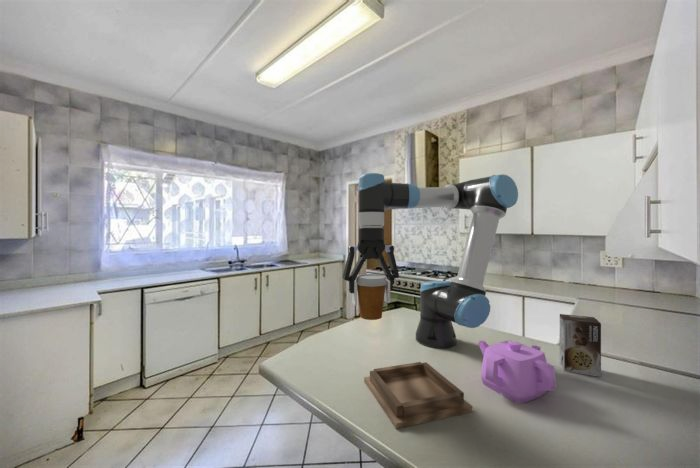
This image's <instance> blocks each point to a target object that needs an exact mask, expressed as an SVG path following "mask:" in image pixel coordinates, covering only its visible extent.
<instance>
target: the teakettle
mask: <svg viewBox="0 0 700 468" xmlns="http://www.w3.org/2000/svg"><path fill="white" fill-rule="evenodd" d="M477 344H478V346H479V349H480V350H481V353H482V356H483V359H482V363H481V372H480V373H481V374H480V378H481V381H482V384H483V385H484V386H486V387H487V388H489V389H490V390H493V391H494V392H495V393H498V394H499V395H501V396H502V397H504V398H507V399H509V400H510V401H513V402H514V403H517V404H523V403H527V402H531V401H533V400H536V399H539V398H540V397H542V396H543V395H544V394H546V393H547V392H548V391H549V392H550V391H554V390H556V389H557V382H556V373H555V365H551V364H550V363H548V361H547V357H546V354H545V352H544V351H542V350H541V346H538V345H531V346H529V345H526V344H523V343H520V342H519V341H515V340H505V341H500V342H497V343H493V344H491V345H489V344H488V343H487V341H486V340H479V341H477Z"/></svg>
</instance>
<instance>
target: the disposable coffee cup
mask: <svg viewBox="0 0 700 468" xmlns="http://www.w3.org/2000/svg"><path fill="white" fill-rule="evenodd" d="M386 279H387V277H386V275H385V274H384V275H383V274H377V273H376V274H375V273H365V274H358V275H357V277H356V279H355V282H357V301H358V305H359V306H358V308H359V313H360V314H359V315H360V318H361V319H364V320H369V321H376V320H380V319H382V317H383V309H384V303H385V301H384V294H385V286H386V283H387V280H386Z"/></svg>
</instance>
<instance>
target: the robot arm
mask: <svg viewBox="0 0 700 468" xmlns="http://www.w3.org/2000/svg"><path fill="white" fill-rule="evenodd" d="M357 191H358V226H359V227H360V228H358V242H357V245H349V246H347V258H346V262H345V266H344V269H343V273H342V279H343V280H345V281H346V282H348V293H350V294H351V297H352V298H351V303H352V304H353V305H354V306H358V291H357V282H355V280H356V277H357V276H358V275H360V274H359V273H360V271H361V269H362V267H363V265H364V264H365V262H367V260H372V259H374V260H377V262H378V264H379V265H380V267H381V268H380V269H382V271H383V273H384V276H386V280H387V283H386V286H385V294H384V302H385V303H386V304H390V303H391V292H393V290H394V288H393V287H394V281H395V280H396V279H399V277H400V275H399V270H398V265H397V260H396V258H395V246H394V245H392V244H391V245H390V244H389V245H386V244H385V229H384V226H385V211H391V210H407V209H423V208H425V209H426V208H442V207H443V208H446V209H449V210H452V209H455V210H456V209H457V210H470V211H471V213H472V218H471V222H470V227H469V230H468V233H467V234H468V235H467V238H466V242H465V245H464V248H463V249H464V250H463V254H462V256H461V261H460V263H459V264H460V265H459V268H458V272H457V276H456V277H455V278H454V279H452V280H451V281H450V280H431V281H429V280H428V281H423V282H422V283H421V284H420V291H419V295H420V296H419V297H420V299H419V300H420V301H419V303H420V304H419V306H420V308H419V309H420V311H419V312H420V314H419V315H420V319H419V322H418V325H417V328H416V331H415V340H416V341H417V343H419V344H421V345H424V346H426V347H430V348H437V349H447V348H451V347H454V346H455V345H456V344H457V335H456V332H455V329H454V326H453V323H455V324H457V325H459V326H461V327H465V328H469V329H475V328H478V327H480V326H481V325H483V324H484V323H485V322H486V320H487V319H488V318H489V315H490V313H491V304H490V300H489V298H488V297H487V296H486V295H487V290H486V288H485V286H484V281H485V277H486V274H487V270H488V266H489V263H490V262H489V261H490V258H491V254H492V250H493V246H494V241H495V239H496V234H497V231H498V226H499V222H500V220H501V219H503V218H504V217H505V216H506V214H507V211H508V209H509V208H512V207H513V206H515V205H516V204H517V202H518V199H519V190H518V187H517V184H516V182H515V181H514V179H513V178H512V177H511V176H509V175H508V174H504V173H503V174H502V173H501V174H493V175H491V176H486V177H480V178H475V179H469V180H466V181H462V182H459V183H458V182H457V183H451V184H446V185H445V186H436V187H435V186H434V187H432V186H431V187H418V186H417V185H416V184H411V183H408V182H407V183H402V182H388V181H386V180H385V175H384V174H382V173H379V172H376V173H375V172H371V173H363V174H361V175H360V176H359V178H358V188H357ZM357 251H358V252H359V253H360V254H359V256H358V259H357V260H356V263H355V266H354V267H353V263H354V260H355V254H356V253H357ZM384 251H385V253H386V256H387V259H388V264H389V267H390V268H389V267H388V264H387V262H386V260H385V257H384V254H383V252H384ZM352 267H353V269H352ZM351 270H352V271H351ZM452 322H453V323H452Z"/></svg>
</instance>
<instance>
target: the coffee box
mask: <svg viewBox="0 0 700 468" xmlns="http://www.w3.org/2000/svg"><path fill="white" fill-rule="evenodd" d="M558 362H559V365H560V366H561V368H562V369H563V372H568V373H575V374H582V375H586V376H594V377H599V378H601V377H602V322H600V321H599V320H598V319H597V318H596V317H594V316H585V315H576V314H575V315H574V314H563V313H559V361H558Z"/></svg>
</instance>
